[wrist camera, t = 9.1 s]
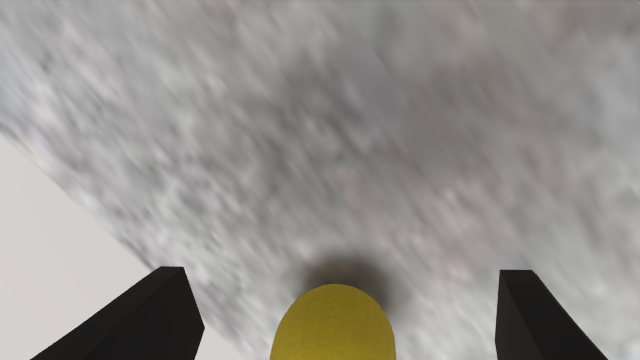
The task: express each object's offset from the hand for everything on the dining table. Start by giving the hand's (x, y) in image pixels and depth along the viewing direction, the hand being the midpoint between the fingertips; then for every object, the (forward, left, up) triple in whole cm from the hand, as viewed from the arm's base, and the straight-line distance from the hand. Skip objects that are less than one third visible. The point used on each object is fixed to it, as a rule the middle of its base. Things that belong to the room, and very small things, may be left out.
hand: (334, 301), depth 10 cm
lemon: (+2, +9, -10) cm, 14 cm away
